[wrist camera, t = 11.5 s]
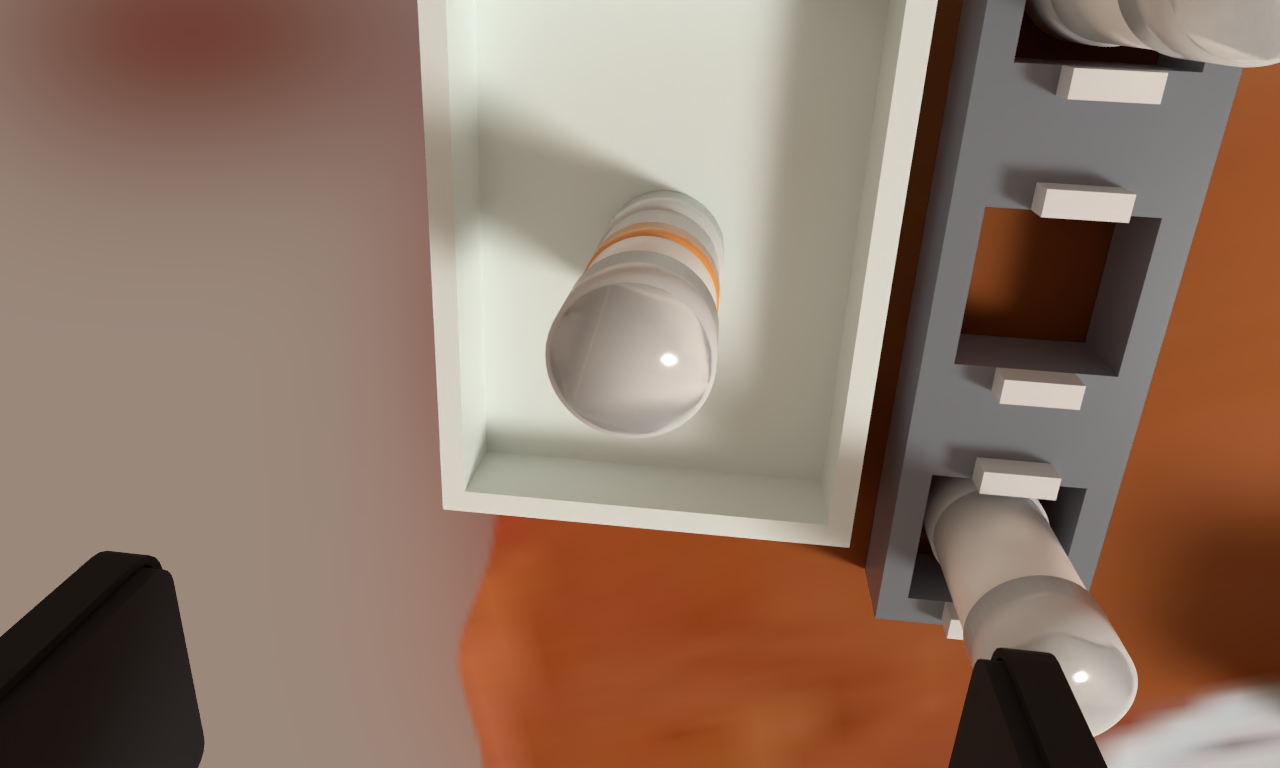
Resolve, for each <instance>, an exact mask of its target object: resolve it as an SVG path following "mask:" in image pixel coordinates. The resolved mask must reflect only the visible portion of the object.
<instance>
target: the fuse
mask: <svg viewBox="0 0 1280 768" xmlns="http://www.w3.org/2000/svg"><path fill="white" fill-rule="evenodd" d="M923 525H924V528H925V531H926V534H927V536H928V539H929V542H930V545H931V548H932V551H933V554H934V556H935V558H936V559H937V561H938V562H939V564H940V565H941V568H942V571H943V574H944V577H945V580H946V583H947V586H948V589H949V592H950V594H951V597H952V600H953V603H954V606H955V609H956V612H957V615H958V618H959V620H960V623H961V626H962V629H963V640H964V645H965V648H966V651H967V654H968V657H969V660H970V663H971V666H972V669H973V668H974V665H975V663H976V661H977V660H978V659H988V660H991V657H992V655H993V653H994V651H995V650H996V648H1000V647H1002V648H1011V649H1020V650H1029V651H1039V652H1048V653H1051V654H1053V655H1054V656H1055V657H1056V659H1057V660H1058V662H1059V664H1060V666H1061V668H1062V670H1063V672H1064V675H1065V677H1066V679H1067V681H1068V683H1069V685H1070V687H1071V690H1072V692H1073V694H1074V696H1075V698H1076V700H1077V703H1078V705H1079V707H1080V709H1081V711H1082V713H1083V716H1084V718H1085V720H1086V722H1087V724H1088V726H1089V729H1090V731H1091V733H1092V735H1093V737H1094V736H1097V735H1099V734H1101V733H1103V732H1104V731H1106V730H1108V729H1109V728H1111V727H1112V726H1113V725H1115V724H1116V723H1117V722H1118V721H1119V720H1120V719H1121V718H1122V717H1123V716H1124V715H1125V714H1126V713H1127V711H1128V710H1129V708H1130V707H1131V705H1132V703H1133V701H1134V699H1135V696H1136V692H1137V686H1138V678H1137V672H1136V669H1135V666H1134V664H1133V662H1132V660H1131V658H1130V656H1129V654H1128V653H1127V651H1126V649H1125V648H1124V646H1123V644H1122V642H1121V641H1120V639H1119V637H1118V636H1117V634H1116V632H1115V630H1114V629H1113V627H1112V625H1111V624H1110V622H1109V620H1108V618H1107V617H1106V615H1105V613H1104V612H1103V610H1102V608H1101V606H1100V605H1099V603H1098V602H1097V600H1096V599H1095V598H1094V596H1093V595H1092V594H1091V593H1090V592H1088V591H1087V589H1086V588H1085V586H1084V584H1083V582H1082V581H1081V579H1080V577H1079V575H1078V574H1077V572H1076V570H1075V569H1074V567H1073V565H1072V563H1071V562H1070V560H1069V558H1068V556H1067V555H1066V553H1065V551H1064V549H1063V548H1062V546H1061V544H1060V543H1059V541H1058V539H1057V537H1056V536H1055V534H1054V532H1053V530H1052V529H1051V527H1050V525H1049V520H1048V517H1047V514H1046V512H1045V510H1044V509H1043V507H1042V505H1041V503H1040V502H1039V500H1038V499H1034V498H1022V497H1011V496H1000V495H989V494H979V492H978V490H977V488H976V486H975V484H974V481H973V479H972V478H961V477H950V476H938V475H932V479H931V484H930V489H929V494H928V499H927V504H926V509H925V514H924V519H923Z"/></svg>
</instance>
